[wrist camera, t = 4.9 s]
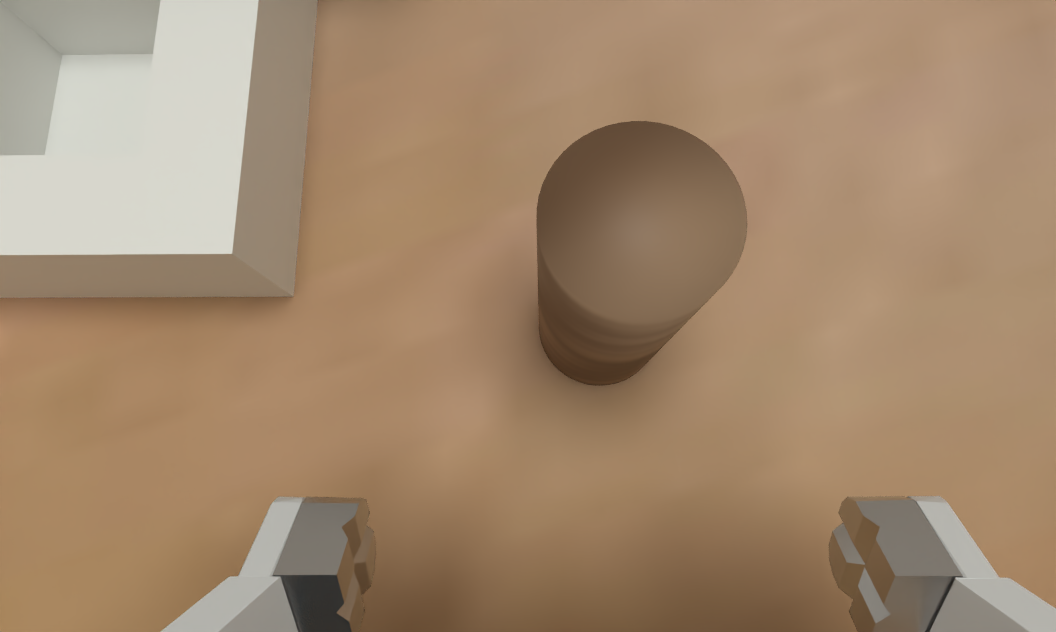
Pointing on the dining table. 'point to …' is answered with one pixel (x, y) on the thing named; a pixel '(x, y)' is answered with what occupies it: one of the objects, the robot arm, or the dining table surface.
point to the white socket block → (152, 146)
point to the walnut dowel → (631, 245)
